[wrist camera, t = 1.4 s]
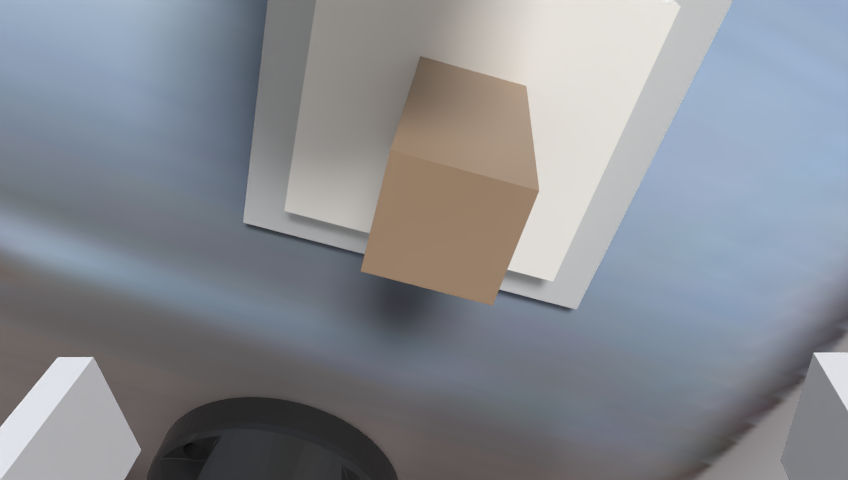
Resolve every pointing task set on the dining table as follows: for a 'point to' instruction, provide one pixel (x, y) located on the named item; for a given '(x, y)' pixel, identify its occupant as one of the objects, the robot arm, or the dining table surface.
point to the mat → (611, 199)
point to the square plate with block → (466, 128)
